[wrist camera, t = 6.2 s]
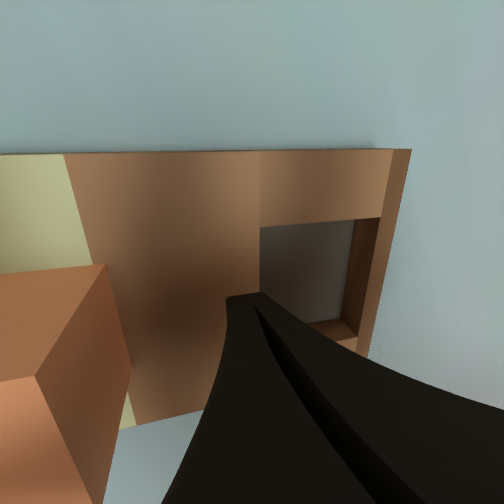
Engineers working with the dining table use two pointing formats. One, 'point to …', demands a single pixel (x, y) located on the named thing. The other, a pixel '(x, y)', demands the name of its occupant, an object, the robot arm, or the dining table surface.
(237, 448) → the robot arm
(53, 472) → the block
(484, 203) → the dining table surface
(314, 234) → the board
